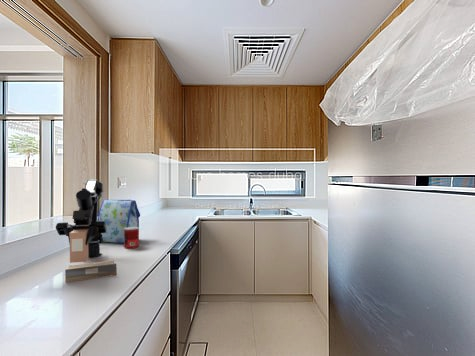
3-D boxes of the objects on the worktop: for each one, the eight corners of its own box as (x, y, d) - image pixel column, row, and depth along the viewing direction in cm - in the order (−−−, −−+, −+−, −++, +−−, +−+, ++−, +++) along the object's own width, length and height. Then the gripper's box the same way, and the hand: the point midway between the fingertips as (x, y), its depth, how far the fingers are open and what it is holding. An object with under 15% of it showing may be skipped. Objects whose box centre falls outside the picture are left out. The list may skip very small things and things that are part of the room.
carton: (88, 257, 124) (88, 229, 124) (84, 261, 119) (84, 232, 118) (74, 258, 123) (73, 230, 123) (69, 262, 117) (69, 233, 117)
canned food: (141, 245, 170) (141, 227, 170) (132, 249, 163) (132, 229, 163) (130, 245, 173) (130, 226, 173) (121, 248, 165) (121, 228, 165)
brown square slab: (69, 269, 128) (69, 258, 128) (113, 263, 136) (113, 253, 136) (65, 282, 111) (65, 270, 111) (116, 275, 119) (116, 264, 119)
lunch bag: (141, 238, 191) (141, 198, 191) (128, 244, 175) (127, 200, 175) (110, 237, 195) (110, 198, 195) (94, 243, 179) (94, 200, 179)
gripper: (56, 203, 122) (46, 235, 112) (105, 202, 127) (99, 232, 116) (63, 219, 130) (54, 250, 119) (108, 217, 134) (104, 247, 124)
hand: (78, 245), depth 119 cm, fingers closed on carton, 5 cm apart
